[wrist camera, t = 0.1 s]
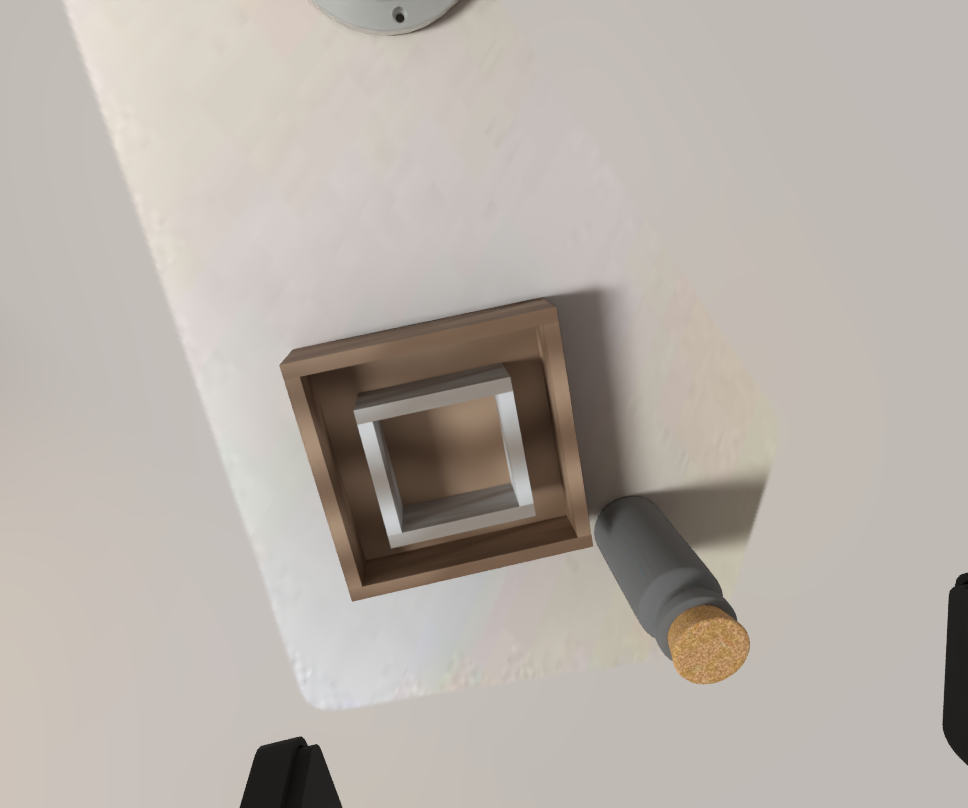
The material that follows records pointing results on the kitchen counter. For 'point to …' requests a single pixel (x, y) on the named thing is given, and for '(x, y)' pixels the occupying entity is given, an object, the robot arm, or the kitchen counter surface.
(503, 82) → the kitchen counter surface
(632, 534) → the bottle
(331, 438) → the walled box
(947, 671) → the robot arm
